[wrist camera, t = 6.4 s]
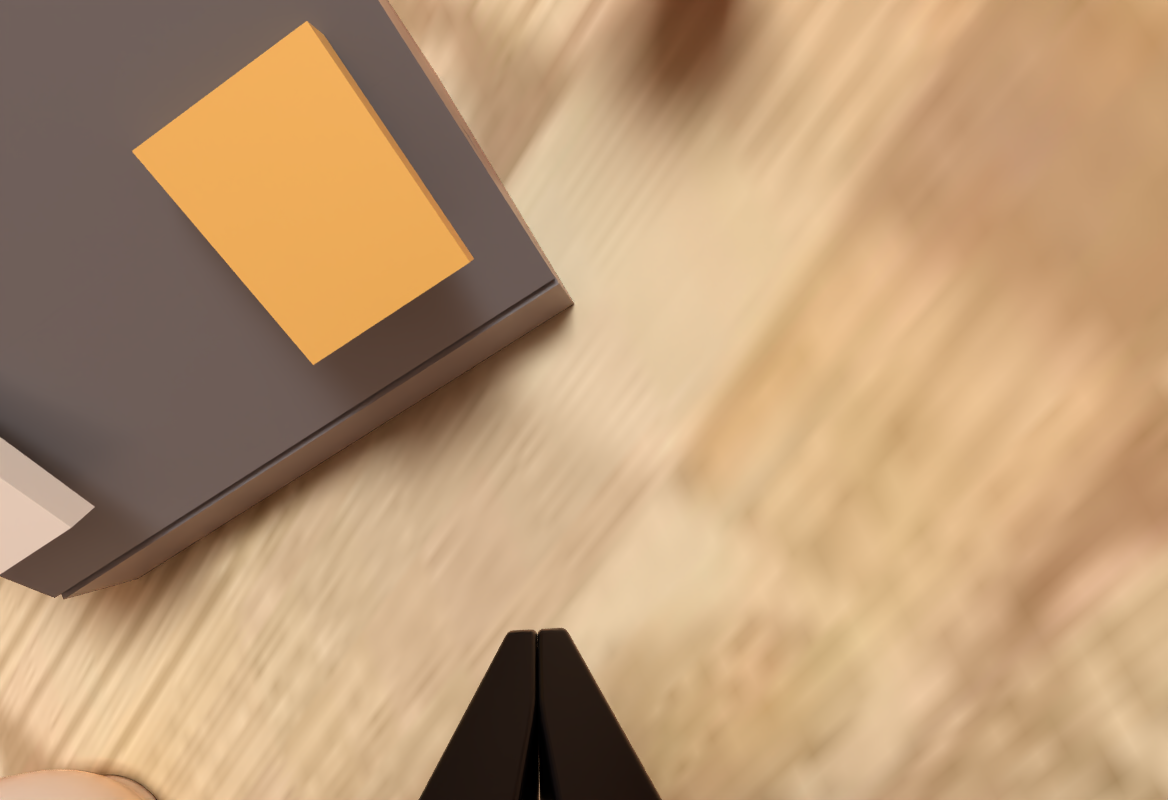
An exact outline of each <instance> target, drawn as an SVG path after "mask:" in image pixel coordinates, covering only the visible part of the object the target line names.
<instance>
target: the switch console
mask: <svg viewBox="0 0 1168 800" xmlns="http://www.w3.org/2000/svg"><path fill="white" fill-rule="evenodd" d="M306 21H308V22H309V23H310V24H311V25H313V26H314V27H315V28H316V29H317V30H319V31H320V32H321V33H322V34H324V36H325V37H326V39H327V40H328V42H329V43H330V45H331V46H332V48H333V49H334V51H335V52H336V54H337V55H338V57H339V58H340V60H341V61H342V63H343V64H344V65H345V67H346V68H347V70H348V71H349V73H350V74H351V76H352V77H353V79H354V80H355V82H356V83H357V85H358V86H359V88H360V89H361V91H362V92H363V94H364V95H365V97H366V98H367V100H368V101H369V103H370V104H371V106H372V107H373V109H374V110H375V112H376V113H377V115H378V116H379V118H380V119H381V121H382V122H383V124H384V125H385V127H386V128H387V130H388V131H389V133H390V134H391V136H392V137H393V139H394V140H395V142H396V143H397V144H398V146H399V147H400V149H401V150H402V152H403V153H404V155H405V156H406V158H407V159H408V161H409V162H410V164H411V165H412V167H413V168H414V170H415V171H416V173H417V174H418V176H419V177H420V179H421V180H422V182H423V183H424V185H425V186H426V188H427V189H428V191H429V192H430V194H431V195H432V197H433V198H434V200H435V201H436V203H437V204H438V206H439V207H440V209H441V210H442V212H443V213H444V215H445V216H446V218H447V219H448V221H449V222H450V223H451V225H452V226H453V228H454V229H455V231H456V232H457V234H458V235H459V237H460V238H461V240H462V241H463V243H464V244H465V246H466V247H467V249H468V250H469V252H470V253H471V255H472V256H473V258H474V259H473V260H472V261H471V262H470V263H468V264H467V265H465V266H464V267H462V268H461V269H459V270H457V271H456V272H454V273H453V274H451V275H450V276H448V277H447V278H445V279H444V280H442V281H441V282H439V283H438V284H436V285H435V286H433V287H432V288H430V289H429V290H427V291H425V292H424V293H422V294H421V295H419V296H418V297H416V298H415V299H413V300H412V301H410V302H409V303H407V304H406V305H404V306H403V307H401V308H400V309H398V310H397V311H395V312H393V313H392V314H390V315H389V316H387V317H386V318H384V319H383V320H381V321H380V322H378V323H377V324H375V325H374V326H372V327H371V328H369V329H368V330H366V331H365V332H363V333H361V334H360V335H358V336H357V337H355V338H354V339H352V340H351V341H349V342H348V343H346V344H345V345H343V346H342V347H340V348H339V349H337V350H336V351H334V352H333V353H331V354H329V355H328V356H326V357H325V358H323V359H322V360H320V361H319V362H317V363H316V364H314V365H313V364H312V363H311V362H310V361H309V360H308V358H307V357H306V356H305V355H304V354H303V352H302V351H301V350H300V349H299V348H298V347H297V345H296V344H295V343H294V342H293V341H292V339H291V338H290V337H289V336H288V335H287V334H286V332H285V331H284V330H283V329H282V328H281V326H280V325H279V324H278V323H277V322H276V321H275V319H274V318H273V317H272V316H271V315H270V314H269V312H268V311H267V310H266V309H265V308H264V306H263V305H262V304H261V303H260V302H259V301H258V299H257V298H256V297H255V296H254V295H253V293H252V292H251V291H250V290H249V289H248V288H247V286H246V285H245V284H244V283H243V282H242V281H241V279H240V278H239V277H238V276H237V275H236V273H235V272H234V271H233V270H232V269H231V268H230V266H229V265H228V264H227V263H226V262H225V260H224V259H223V258H222V257H221V256H220V255H219V253H218V252H217V251H216V250H215V249H214V247H213V246H212V245H211V244H210V243H209V242H208V240H207V239H206V238H205V237H204V236H203V235H202V233H201V232H200V231H199V230H198V229H197V227H196V226H195V225H194V224H193V223H192V222H191V220H190V219H189V218H188V217H187V216H186V214H185V213H184V212H183V211H182V210H181V209H180V207H179V206H178V205H177V204H176V203H175V202H174V200H173V199H172V198H171V197H170V196H169V194H168V193H167V192H166V191H165V190H164V189H163V187H162V186H161V185H160V184H159V183H158V181H157V180H156V179H155V178H154V177H153V176H152V174H151V173H150V172H149V171H148V170H147V168H146V167H145V166H144V165H143V164H142V163H141V161H140V160H139V159H138V158H137V157H136V156H135V154H134V153H133V152H132V151H133V150H134V149H135V148H137V147H138V146H139V145H141V144H142V143H143V142H145V141H146V140H147V139H149V138H150V137H151V136H153V135H154V134H155V133H157V132H158V131H159V130H161V129H162V128H163V127H165V126H166V125H168V124H169V123H170V122H172V121H173V120H174V119H176V118H177V117H178V116H180V115H181V114H182V113H184V112H185V111H186V110H188V109H189V108H190V107H192V106H193V105H194V104H196V103H197V102H198V101H200V100H201V99H202V98H204V97H205V96H206V95H208V94H209V93H211V92H212V91H213V90H215V89H216V88H217V87H219V86H220V85H221V84H223V83H224V82H225V81H227V80H228V79H229V78H231V77H232V76H233V75H235V74H236V73H237V72H239V71H240V70H241V69H243V68H244V67H245V66H247V65H248V64H249V63H251V62H252V61H254V60H255V59H256V58H258V57H259V56H260V55H262V54H263V53H264V52H266V51H267V50H268V49H270V48H271V47H272V46H274V45H275V44H276V43H278V42H279V41H280V40H282V39H283V38H284V37H286V36H287V35H288V34H290V33H291V32H292V31H294V30H295V29H297V28H298V27H299V26H301V25H302V24H303V23H305V22H306ZM572 304H574V302H573V301H572V299H571V297H570V296H569V294H568V292H567V291H566V289H565V287H564V286H563V284H562V282H561V281H560V279H559V277H558V276H557V274H556V272H555V271H554V269H553V267H552V266H551V264H550V262H549V261H548V259H547V257H546V256H545V254H544V252H543V251H542V249H541V247H540V246H539V244H538V242H537V241H536V239H535V237H534V236H533V234H532V232H531V231H530V229H529V227H528V226H527V224H526V222H525V221H524V219H523V217H522V216H521V214H520V212H519V211H518V209H517V207H516V206H515V204H514V202H513V201H512V199H511V197H510V196H509V194H508V192H507V191H506V189H505V187H504V186H503V184H502V182H501V181H500V179H499V177H498V176H497V174H496V172H495V171H494V169H493V167H492V166H491V164H490V162H489V161H488V159H487V157H486V156H485V154H484V152H483V151H482V149H481V147H480V146H479V144H478V142H477V141H476V139H475V138H474V136H473V134H472V133H471V131H470V129H469V128H468V126H467V124H466V123H465V121H464V119H463V118H462V116H461V114H460V113H459V111H458V109H457V108H456V106H455V104H454V103H453V101H452V99H451V98H450V96H449V94H448V93H447V91H446V89H445V88H444V86H443V84H442V83H441V81H440V79H439V78H438V76H437V74H436V73H435V71H434V70H433V68H432V67H431V65H430V64H429V62H428V61H427V59H426V58H425V56H424V55H423V53H422V52H421V50H420V48H419V47H418V45H417V44H416V42H415V41H414V39H413V38H412V36H411V35H410V33H409V32H408V30H407V29H406V27H405V26H404V24H403V23H402V21H401V20H400V18H399V16H398V15H397V13H396V12H395V10H394V9H393V7H392V6H391V4H390V3H389V1H388V0H0V437H1V438H2V439H4V440H5V441H6V442H8V443H9V444H10V445H12V446H13V447H14V448H16V449H17V450H18V451H20V452H21V453H23V454H24V455H25V456H27V457H28V458H29V459H31V460H32V461H33V462H35V463H36V464H37V465H39V466H40V467H42V468H43V469H44V470H46V471H47V472H48V473H50V474H51V475H52V476H54V477H55V478H56V479H58V480H59V481H61V482H62V483H63V484H65V485H66V486H67V487H69V488H70V489H71V490H73V491H74V492H75V493H77V494H78V495H80V496H81V497H82V498H84V499H85V500H86V501H88V502H89V503H90V504H92V505H93V506H94V508H93V509H92V510H91V511H90V512H89V513H87V514H86V515H85V516H84V517H83V518H82V519H81V520H80V521H78V522H77V523H76V524H75V525H74V526H73V527H72V528H70V529H69V530H67V531H66V532H64V533H62V534H61V535H59V536H58V537H56V538H55V539H53V540H52V541H50V542H49V543H47V544H46V545H44V546H43V547H41V548H40V549H38V550H37V551H35V552H33V553H32V554H30V555H29V556H27V557H26V558H24V559H23V560H21V561H20V562H18V563H17V564H15V565H14V566H12V567H11V568H9V569H8V570H6V571H4V572H3V573H1V574H0V576H1V577H3V578H6V579H8V580H11V581H13V582H16V583H18V584H21V585H24V586H26V587H29V588H31V589H34V590H36V591H39V592H41V593H44V594H46V595H49V596H51V597H54V598H55V597H57V596H58V595H60V594H62V597H63V599H67V598H71V597H74V596H78V595H81V594H85V593H88V592H92V591H96V590H99V589H103V588H106V587H110V586H114V585H117V584H121V583H124V582H128V581H132V580H135V579H138V578H139V577H141V576H142V575H144V574H146V573H147V572H149V571H150V570H152V569H154V568H155V567H157V566H158V565H160V564H161V563H163V562H165V561H166V560H168V559H169V558H171V557H173V556H174V555H176V554H177V553H179V552H181V551H182V550H184V549H185V548H187V547H188V546H190V545H192V544H193V543H195V542H196V541H198V540H200V539H201V538H203V537H204V536H206V535H207V534H209V533H211V532H212V531H214V530H215V529H217V528H219V527H220V526H222V525H223V524H225V523H227V522H228V521H230V520H231V519H233V518H234V517H236V516H238V515H239V514H241V513H242V512H244V511H246V510H247V509H249V508H250V507H252V506H254V505H255V504H257V503H258V502H260V501H261V500H263V499H265V498H266V497H268V496H269V495H271V494H273V493H274V492H276V491H277V490H279V489H280V488H282V487H284V486H285V485H287V484H288V483H290V482H292V481H293V480H295V479H296V478H298V477H300V476H301V475H303V474H304V473H306V472H307V471H309V470H311V469H312V468H314V467H315V466H317V465H319V464H320V463H322V462H323V461H325V460H326V459H328V458H330V457H331V456H333V455H334V454H336V453H338V452H339V451H341V450H342V449H344V448H346V447H347V446H349V445H350V444H352V443H353V442H355V441H357V440H358V439H360V438H361V437H363V436H365V435H366V434H368V433H369V432H371V431H372V430H374V429H376V428H377V427H379V426H380V425H382V424H384V423H385V422H387V421H388V420H390V419H392V418H393V417H395V416H396V415H398V414H399V413H401V412H403V411H404V410H406V409H407V408H409V407H411V406H412V405H414V404H415V403H417V402H418V401H420V400H422V399H423V398H425V397H426V396H428V395H430V394H431V393H433V392H434V391H436V390H438V389H439V388H441V387H442V386H444V385H445V384H447V383H449V382H450V381H452V380H453V379H455V378H457V377H458V376H460V375H461V374H463V373H464V372H466V371H468V370H469V369H471V368H472V367H474V366H476V365H477V364H479V363H480V362H482V361H484V360H485V359H487V358H488V357H490V356H491V355H493V354H495V353H496V352H498V351H499V350H501V349H503V348H504V347H506V346H507V345H509V344H511V343H512V342H514V341H515V340H517V339H518V338H520V337H522V336H523V335H525V334H526V333H528V332H530V331H531V330H533V329H534V328H536V327H537V326H539V325H541V324H542V323H544V322H545V321H547V320H549V319H550V318H552V317H553V316H555V315H557V314H558V313H560V312H561V311H563V310H564V309H566V308H568V307H569V306H571V305H572Z"/></svg>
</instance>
